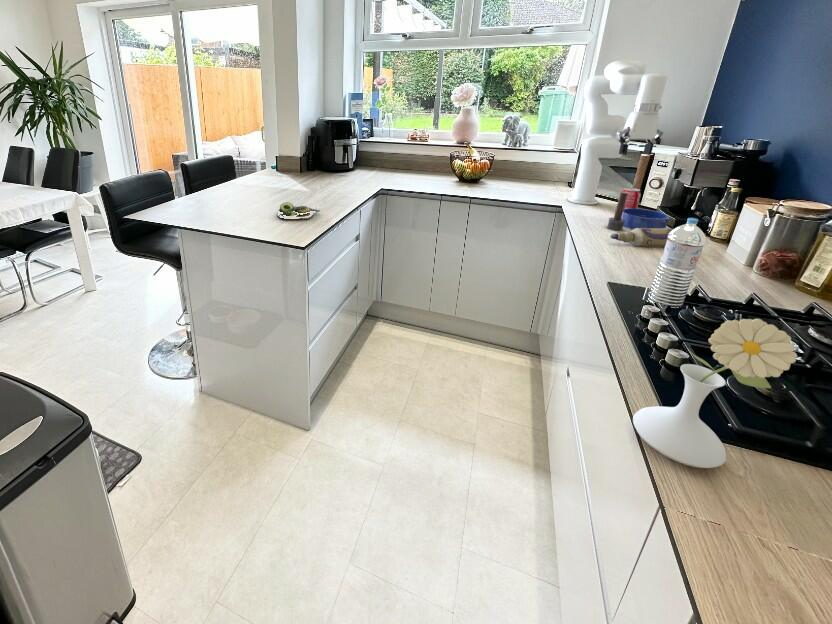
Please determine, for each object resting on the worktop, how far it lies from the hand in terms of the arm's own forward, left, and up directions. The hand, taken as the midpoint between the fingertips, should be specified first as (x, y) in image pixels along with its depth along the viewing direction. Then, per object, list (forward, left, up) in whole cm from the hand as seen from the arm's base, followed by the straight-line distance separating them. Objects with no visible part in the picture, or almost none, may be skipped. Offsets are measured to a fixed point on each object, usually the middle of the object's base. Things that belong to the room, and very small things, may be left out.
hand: (634, 154), depth 156 cm
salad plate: (-16, -136, -29) cm, 140 cm away
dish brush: (+5, -4, -29) cm, 30 cm away
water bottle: (+69, -36, -29) cm, 84 cm away
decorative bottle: (+23, -4, -29) cm, 38 cm away
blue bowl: (+2, +9, -29) cm, 31 cm away
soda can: (-13, +13, -29) cm, 35 cm away
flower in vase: (+111, -66, -29) cm, 132 cm away
